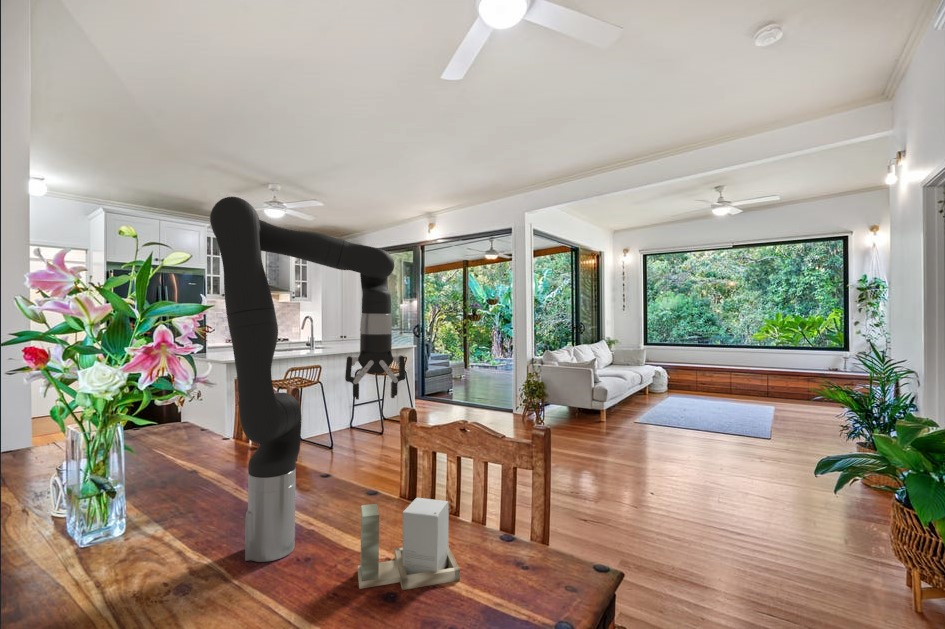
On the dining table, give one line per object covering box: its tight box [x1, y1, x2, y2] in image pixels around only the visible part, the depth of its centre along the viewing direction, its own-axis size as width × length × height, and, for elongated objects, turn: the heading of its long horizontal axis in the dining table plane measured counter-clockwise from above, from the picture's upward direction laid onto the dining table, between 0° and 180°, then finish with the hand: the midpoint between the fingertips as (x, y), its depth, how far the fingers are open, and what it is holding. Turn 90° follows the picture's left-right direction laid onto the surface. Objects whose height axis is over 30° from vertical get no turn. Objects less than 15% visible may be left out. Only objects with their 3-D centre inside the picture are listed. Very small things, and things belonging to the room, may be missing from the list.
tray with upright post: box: [357, 503, 461, 591], centre depth 87 cm, size 18×11×13 cm, turn 107°
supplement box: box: [401, 497, 449, 575], centre depth 88 cm, size 7×7×13 cm
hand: (375, 398), depth 109 cm, fingers open, 8 cm apart
